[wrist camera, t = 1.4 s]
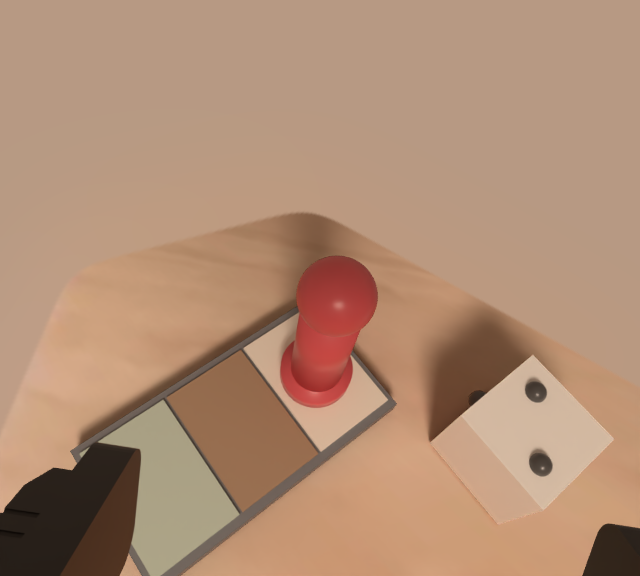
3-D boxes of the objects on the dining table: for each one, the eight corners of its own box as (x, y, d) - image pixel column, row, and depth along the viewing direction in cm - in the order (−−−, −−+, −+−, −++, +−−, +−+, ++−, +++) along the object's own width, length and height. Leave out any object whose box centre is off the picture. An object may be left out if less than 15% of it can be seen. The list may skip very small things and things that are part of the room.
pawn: (321, 328, 37) (349, 219, 26) (364, 381, 36) (412, 287, 25) (265, 365, 35) (272, 264, 25) (308, 422, 34) (335, 340, 23)
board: (307, 306, 39) (309, 297, 38) (392, 409, 36) (397, 402, 35) (75, 455, 33) (69, 450, 32) (156, 594, 30) (152, 594, 29)
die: (487, 381, 38) (529, 342, 32) (561, 462, 36) (620, 436, 30) (423, 435, 36) (456, 403, 30) (498, 524, 34) (548, 508, 28)
